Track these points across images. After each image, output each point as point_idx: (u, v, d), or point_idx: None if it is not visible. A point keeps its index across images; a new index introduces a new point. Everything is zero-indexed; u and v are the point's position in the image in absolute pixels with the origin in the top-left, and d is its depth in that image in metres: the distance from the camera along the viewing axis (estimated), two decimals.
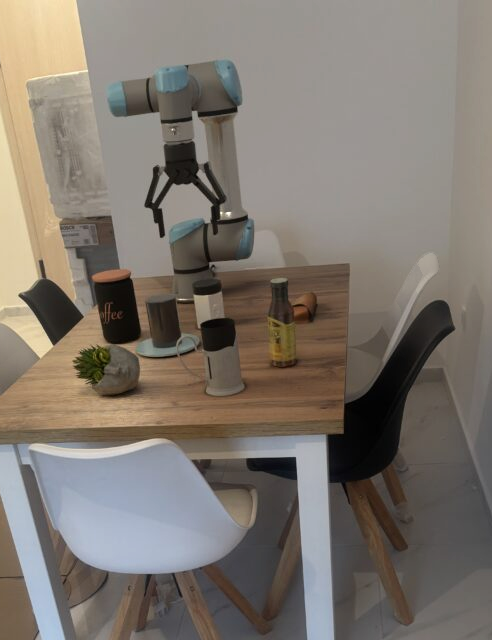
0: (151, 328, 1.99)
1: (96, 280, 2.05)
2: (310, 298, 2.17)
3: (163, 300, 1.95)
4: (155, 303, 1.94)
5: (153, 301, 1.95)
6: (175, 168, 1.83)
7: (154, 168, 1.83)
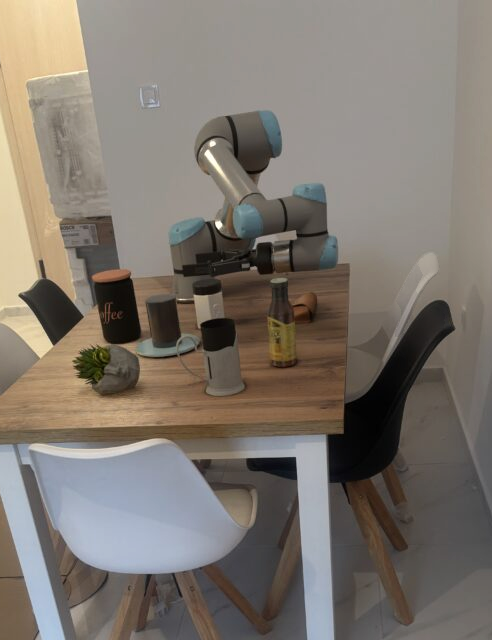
0: (151, 328, 1.99)
1: (96, 280, 2.05)
2: (311, 298, 2.17)
3: (163, 300, 1.95)
4: (155, 303, 1.94)
5: (153, 301, 1.95)
6: None
7: (248, 270, 1.83)
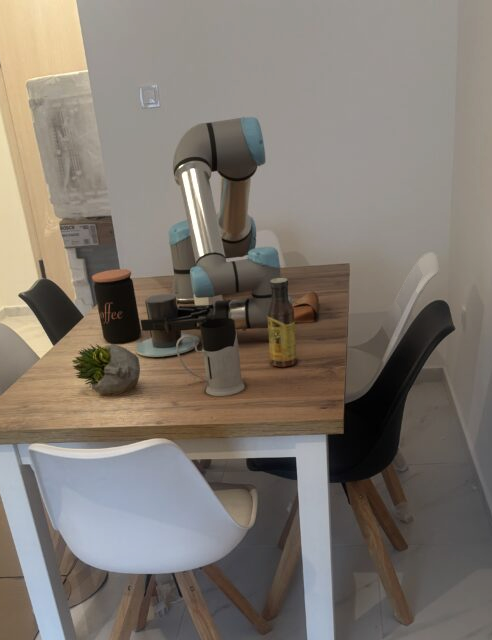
0: None
1: (96, 280, 2.05)
2: (313, 298, 2.17)
3: (163, 300, 1.95)
4: (155, 303, 1.94)
5: (153, 301, 1.95)
6: None
7: None
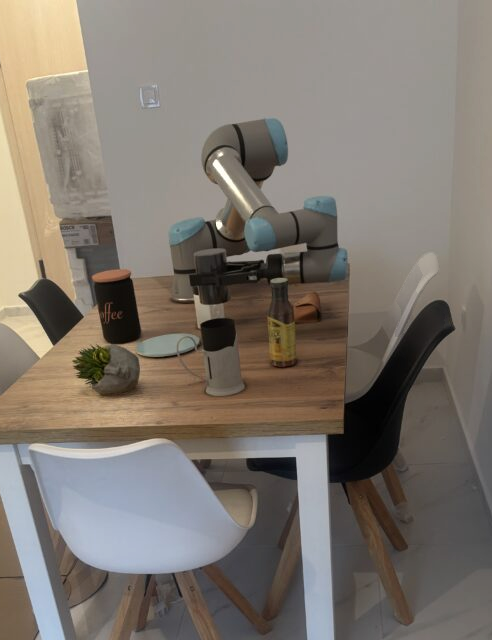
0: None
1: (96, 280, 2.05)
2: (315, 297, 2.17)
3: (213, 253, 1.87)
4: (205, 256, 1.86)
5: (202, 254, 1.87)
6: None
7: (255, 282, 1.85)
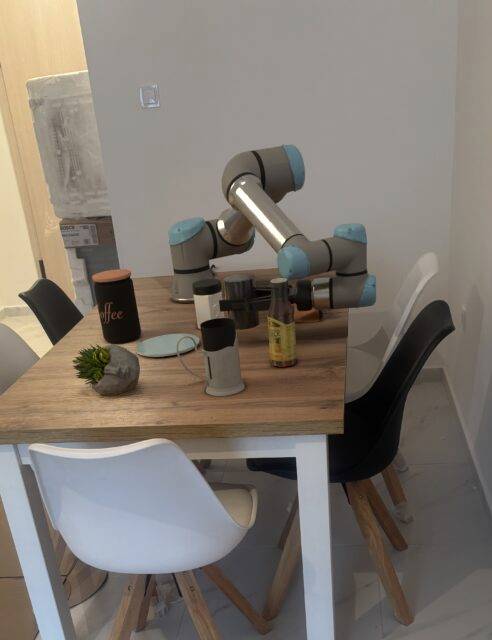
0: None
1: (96, 280, 2.05)
2: None
3: (243, 279, 1.89)
4: (235, 282, 1.88)
5: (232, 280, 1.89)
6: None
7: None
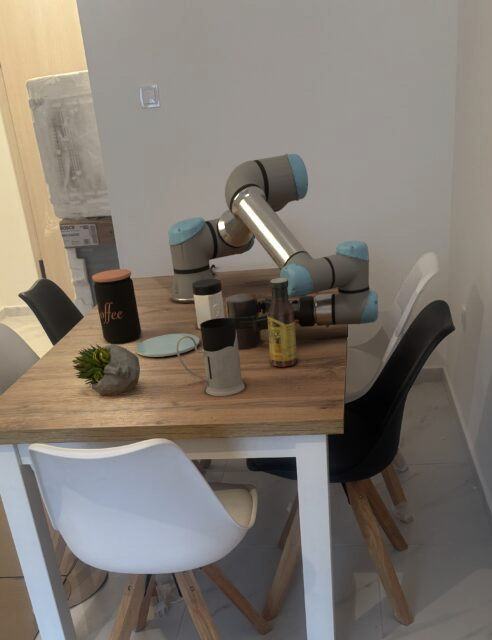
0: None
1: (96, 280, 2.05)
2: None
3: (245, 300, 1.91)
4: (237, 303, 1.90)
5: (235, 301, 1.91)
6: None
7: None
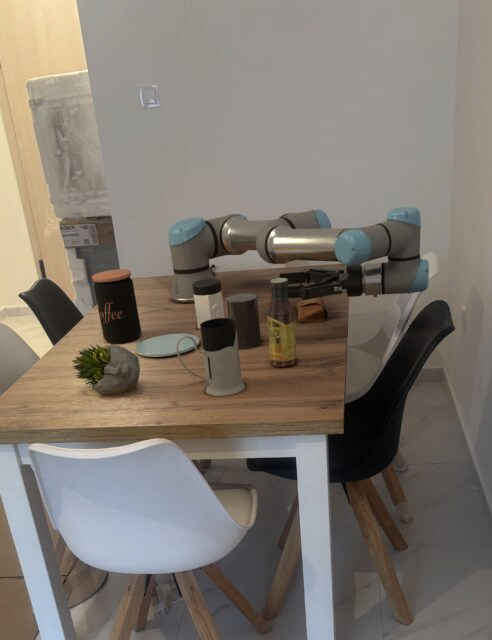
0: None
1: (96, 280, 2.05)
2: (319, 297, 2.17)
3: (245, 300, 1.91)
4: (237, 303, 1.90)
5: (235, 301, 1.91)
6: None
7: (340, 293, 1.84)
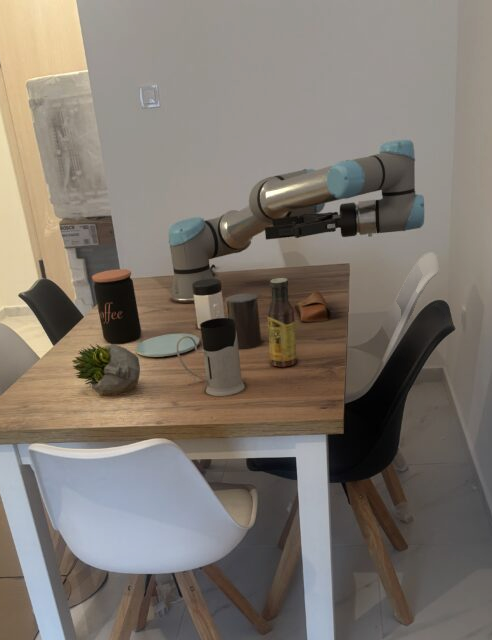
0: None
1: (96, 280, 2.05)
2: (321, 297, 2.17)
3: (245, 300, 1.91)
4: (237, 303, 1.90)
5: (235, 301, 1.91)
6: None
7: None
